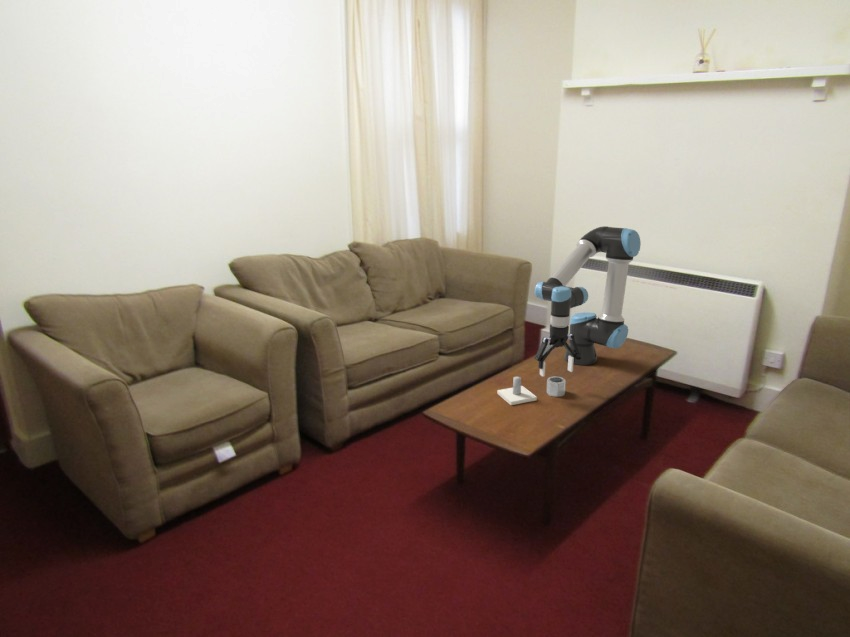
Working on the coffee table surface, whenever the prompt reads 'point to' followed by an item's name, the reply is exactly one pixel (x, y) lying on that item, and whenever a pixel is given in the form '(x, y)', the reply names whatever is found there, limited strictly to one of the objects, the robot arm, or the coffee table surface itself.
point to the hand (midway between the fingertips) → (556, 373)
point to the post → (516, 393)
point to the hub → (556, 386)
